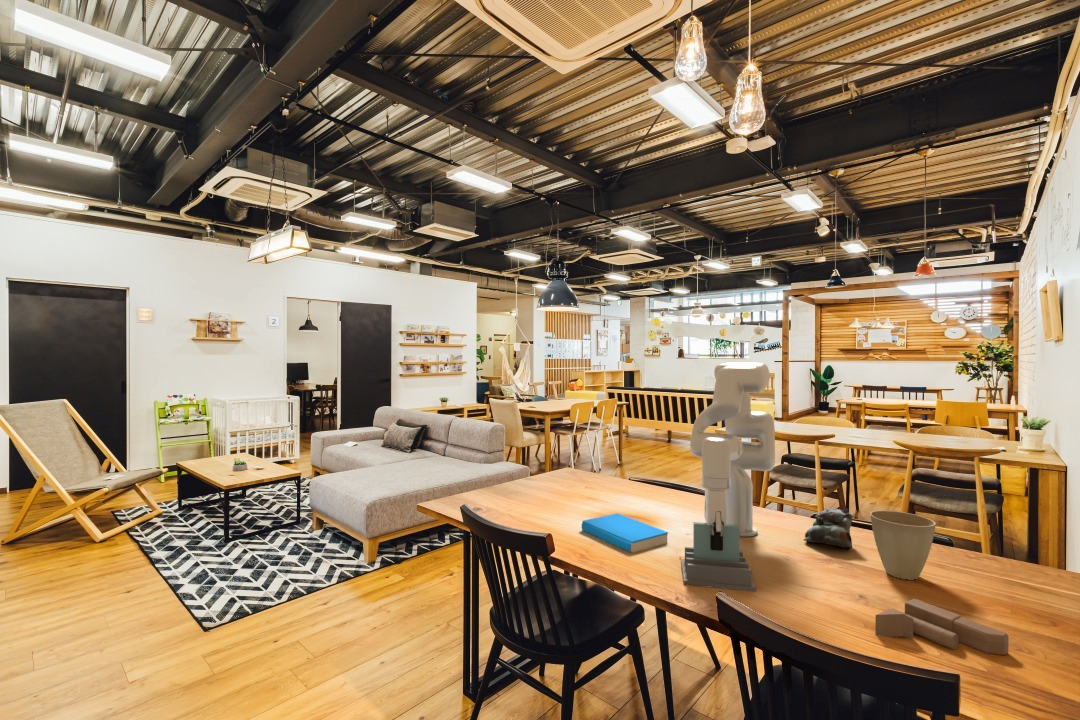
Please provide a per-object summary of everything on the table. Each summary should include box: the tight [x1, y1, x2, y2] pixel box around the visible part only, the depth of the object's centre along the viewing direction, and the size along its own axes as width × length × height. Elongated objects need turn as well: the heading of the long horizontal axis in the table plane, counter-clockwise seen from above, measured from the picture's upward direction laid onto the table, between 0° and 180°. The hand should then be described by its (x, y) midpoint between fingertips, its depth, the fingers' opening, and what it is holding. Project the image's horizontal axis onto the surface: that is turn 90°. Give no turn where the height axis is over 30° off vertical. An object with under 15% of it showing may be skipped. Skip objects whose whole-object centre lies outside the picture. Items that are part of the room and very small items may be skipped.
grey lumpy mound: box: [803, 507, 853, 550], centre depth 163 cm, size 15×12×14 cm
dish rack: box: [680, 546, 757, 592], centre depth 138 cm, size 15×18×5 cm
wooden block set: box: [874, 598, 1009, 656], centre depth 105 cm, size 17×6×18 cm
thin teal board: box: [692, 521, 741, 562], centre depth 138 cm, size 2×12×13 cm, turn 77°
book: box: [581, 512, 669, 554], centre depth 170 cm, size 17×4×25 cm
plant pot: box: [869, 510, 937, 581], centre depth 139 cm, size 15×15×16 cm
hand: (716, 548), depth 138 cm, fingers closed on thin teal board, 1 cm apart
